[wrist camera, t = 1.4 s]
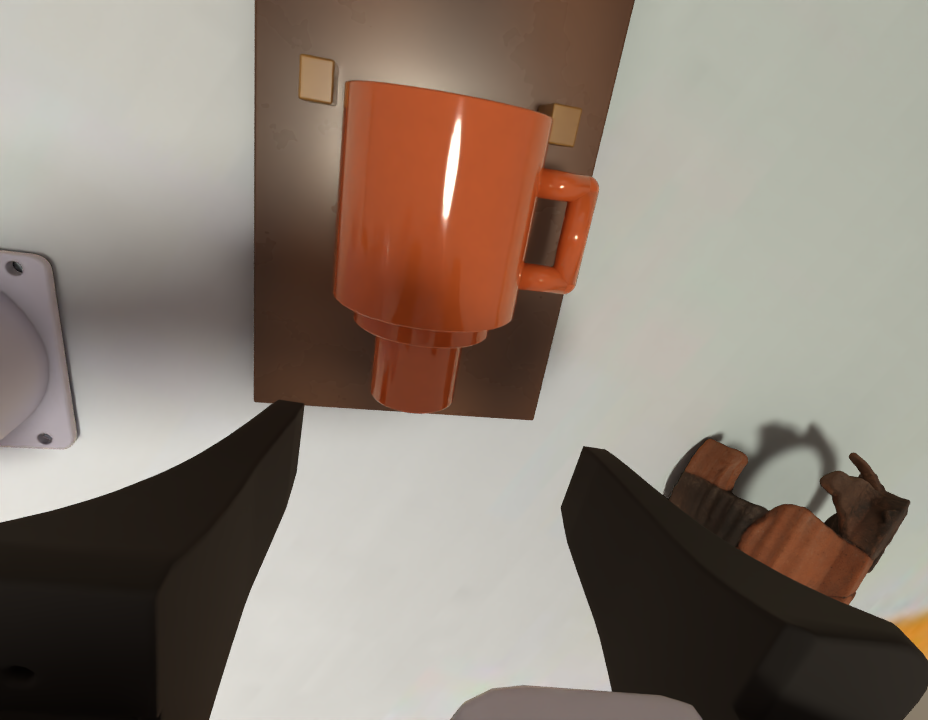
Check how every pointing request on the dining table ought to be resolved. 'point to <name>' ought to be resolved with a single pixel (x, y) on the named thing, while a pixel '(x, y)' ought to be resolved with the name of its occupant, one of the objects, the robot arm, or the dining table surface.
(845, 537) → the brown arched frame
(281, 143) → the stand
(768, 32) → the dining table surface
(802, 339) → the dining table surface
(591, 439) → the dining table surface
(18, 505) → the dining table surface
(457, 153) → the jug
